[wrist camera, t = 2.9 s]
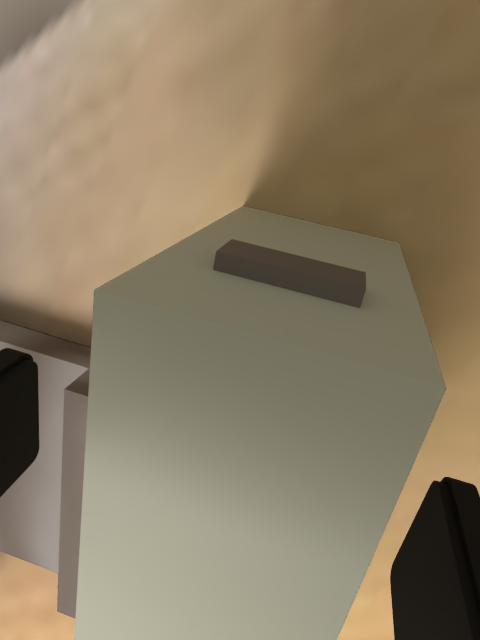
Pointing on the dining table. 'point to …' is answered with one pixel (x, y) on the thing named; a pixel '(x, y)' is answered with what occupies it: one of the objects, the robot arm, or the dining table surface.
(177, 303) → the slotted sage box
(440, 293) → the dining table surface
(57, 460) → the board
